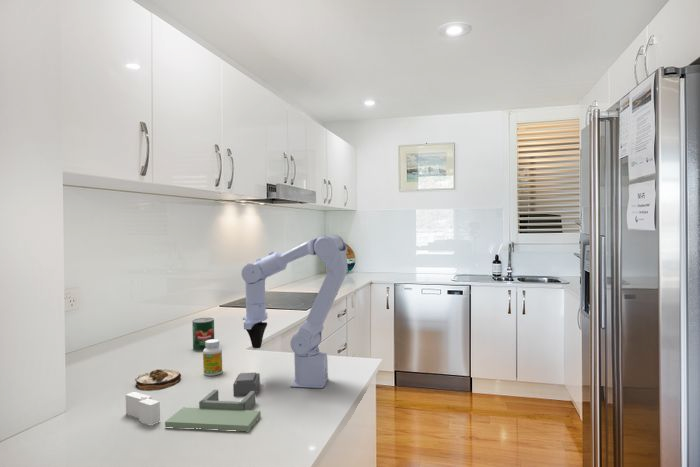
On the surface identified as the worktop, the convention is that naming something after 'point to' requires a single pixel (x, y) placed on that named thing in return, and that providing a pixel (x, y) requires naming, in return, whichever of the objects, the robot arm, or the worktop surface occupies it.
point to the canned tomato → (202, 332)
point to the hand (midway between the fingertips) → (256, 347)
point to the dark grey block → (246, 383)
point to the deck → (217, 414)
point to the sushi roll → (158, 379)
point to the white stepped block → (143, 407)
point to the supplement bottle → (212, 358)
